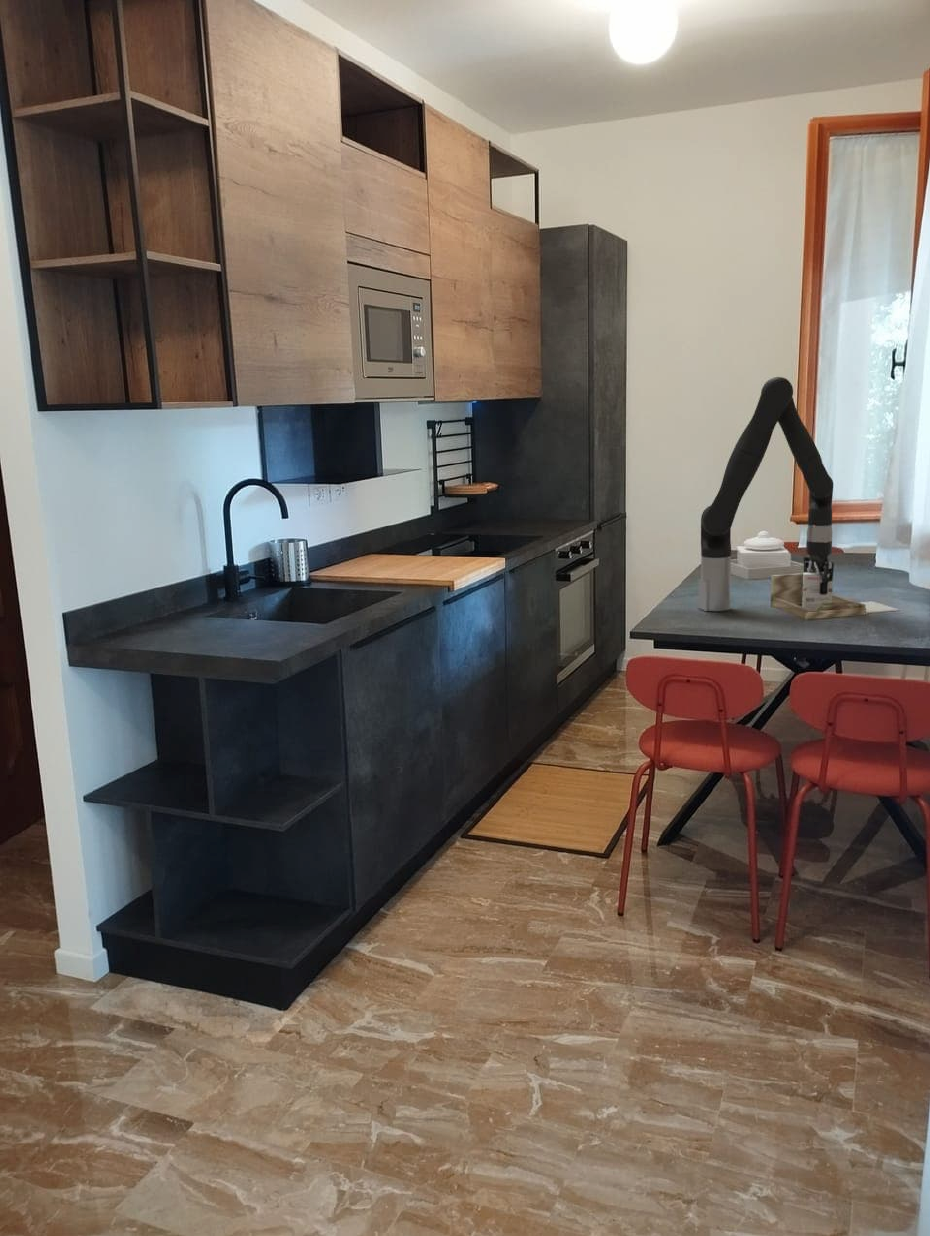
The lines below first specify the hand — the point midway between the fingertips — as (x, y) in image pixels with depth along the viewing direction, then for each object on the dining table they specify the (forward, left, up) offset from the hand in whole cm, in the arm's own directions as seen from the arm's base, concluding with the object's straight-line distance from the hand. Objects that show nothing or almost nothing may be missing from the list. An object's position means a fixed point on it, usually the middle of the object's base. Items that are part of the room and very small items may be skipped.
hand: (817, 592), depth 313 cm
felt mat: (+16, -3, -6) cm, 17 cm away
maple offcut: (+7, -9, -6) cm, 12 cm away
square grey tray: (+17, +68, -6) cm, 70 cm away
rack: (0, 0, -6) cm, 6 cm away
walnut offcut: (0, -9, -4) cm, 10 cm away
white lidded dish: (+17, +68, -6) cm, 70 cm away
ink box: (0, 0, -6) cm, 6 cm away
